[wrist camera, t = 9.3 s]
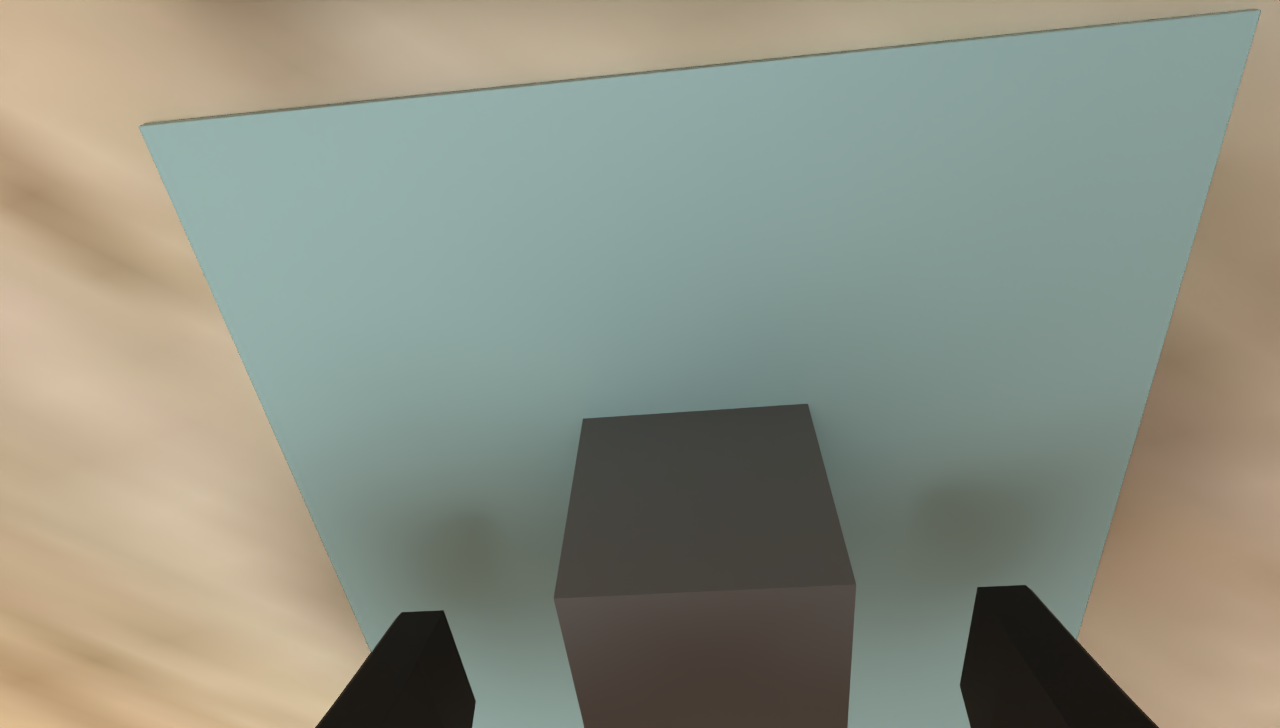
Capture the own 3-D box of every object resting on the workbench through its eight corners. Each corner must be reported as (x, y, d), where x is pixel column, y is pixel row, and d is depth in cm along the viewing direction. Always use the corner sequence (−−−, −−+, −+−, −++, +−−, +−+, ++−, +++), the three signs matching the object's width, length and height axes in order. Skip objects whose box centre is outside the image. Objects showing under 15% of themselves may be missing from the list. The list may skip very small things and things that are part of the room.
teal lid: (1218, 2, 9) (1580, 76, 6) (1035, 691, 17) (1142, 926, 13) (172, 111, 11) (-100, 234, 7) (422, 713, 18) (356, 935, 14)
